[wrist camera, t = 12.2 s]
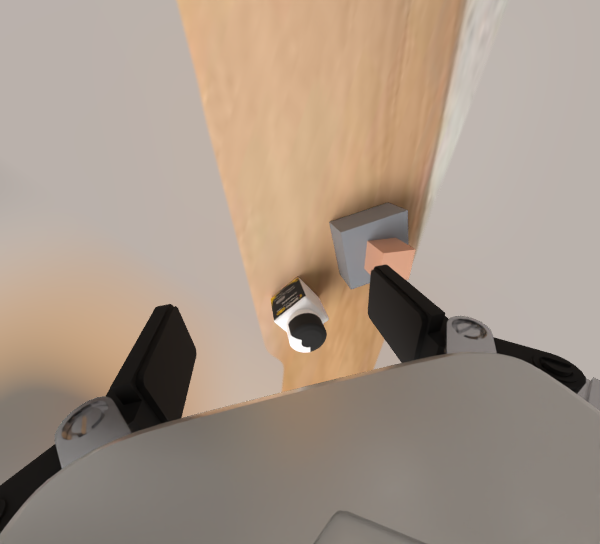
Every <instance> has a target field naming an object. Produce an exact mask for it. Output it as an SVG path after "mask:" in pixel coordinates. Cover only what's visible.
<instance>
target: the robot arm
mask: <svg viewBox="0 0 600 544" xmlns="http://www.w3.org/2000/svg"><path fill="white" fill-rule="evenodd" d="M368 315H369V318H370V319H371V321H372V322H373V324H374V325H375V326H376V328H377V329H378V330H379V332H380V333H381V335H382V336H383V337H384V339H385V340H386V341H387V343H388V344H389V345H390V347H391V348H392V350H393V351H394V353H395V354H396V355H397V357H398V358H399V359H400V361H401V362H402V363H400V364H396V365H391V366H387V367H383V368H379V369H375V370H371V371H367V372H362V373H358V374H354V375H350V376H346V377H342V378H338V379H334V380H330V381H326V382H322V383H318V384H313V385H309V386H305V387H301V388H297V389H293V390H289V391H285V392H281V393H278V394H273V395H269V396H266V397H261V398H257V399H254V400H250V401H246V402H242V403H238V404H234V405H230V406H226V407H222V408H218V409H214V410H210V411H206V412H203V413H200V414H195V415H191V416H188V417H184V418H181V417H182V413H183V409H184V405H185V401H186V396H187V392H188V388H189V384H190V380H191V376H192V371H193V367H194V363H195V359H196V348H195V346H194V343H193V341H192V339H191V337H190V335H189V332H188V330H187V328H186V325H185V323H184V321H183V319H182V316H181V314H180V312H179V310H178V308H177V307H176V306H175V307H173V305H171V304H168V305H163V306H158V307H156V308H155V309H154V311H153V313H152V315H151V317H150V318H149V320H148V322H147V323H146V325H145V327H144V329H143V331H142V332H141V334H140V336H139V338H138V339H137V341H136V343H135V345H134V346H133V348H132V350H131V352H130V353H129V355H128V357H127V359H126V361H125V362H124V364H123V366H122V368H121V369H120V371H119V373H118V375H117V376H116V378H115V380H114V382H113V384H112V385H111V387H110V390H109V392H108V393H107V395H106V397H97V398H95V399H92V400H89V401H87V402H85V403H84V404H82V405H80V406H79V407H78V408H76V409H75V410H74V411H72V412H71V413H70V414H69V415H68V416H67V417H66V418H65V419H64V420H63V421H62V423H61V424H60V426H59V427H58V429H57V431H56V434H55V445H53V446H52V447H51V448H49V449H48V450H47V451H45V452H44V453H43V454H41V455H40V456H39V457H37V458H36V459H35V460H33V461H32V462H31V463H30V464H28V465H27V466H25V467H24V468H23V469H22V470H20V471H19V472H18V473H16V474H15V475H14V476H12V477H11V478H10V479H8V480H7V481H6V482H4V483H3V484H2V485H0V544H600V380H598V379H596V378H593V379H592V380H591V381H590V380H588V379H586V377H585V376H584V374H583V373H582V371H580V370H579V369H578V368H577V367H576V366H575V365H573V364H572V363H570V362H569V361H567V360H565V359H563V358H561V357H559V356H556V355H553V354H551V353H547V352H544V351H540V350H537V349H533V348H530V347H526V346H522V345H519V344H515V343H512V342H508V341H505V340H501V339H497V338H494V337H493V335H492V332H491V330H490V329H489V328H488V327H487V326H486V325H485V324H483V323H482V322H480V321H478V320H476V319H473V318H469V317H465V316H455V317H452V318H450V319H448V318H447V317H446V316H445V312H443V311H442V310H441V309H440V308H439V307H437V306H436V305H435V304H434V303H432V302H431V301H430V300H429V299H428V298H427V297H425V296H424V295H423V294H422V293H420V292H419V291H418V290H417V289H416V288H415V287H413V286H412V285H411V284H410V283H409V282H407V281H406V280H405V279H404V278H403V277H401V276H400V275H399V274H398V273H397V272H395V271H394V270H393V269H392V268H391V267H389V266H388V265H387V264H385V265H380V266H375V267H374V270H371V275H370V289H369V303H368Z"/></svg>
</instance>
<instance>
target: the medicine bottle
mask: <svg viewBox="0 0 600 544" xmlns="http://www.w3.org/2000/svg"><path fill="white" fill-rule="evenodd" d="M271 304H272V311H273V317H274V322H275V323H276V324H277V325H279V326H280V327H281V328H282V329H284V330H285V331H286V332H287V334H288V338H289V343H290V345H291V347H292V348H293V349H294V350H296V351H299V352H311V351H314V350H316V349H318V348H319V347H320V346H321V345H322V344H323V343H324V341H325V339H326V335H327V334H326V330H325V328H324V325H323V324H324V323H325V322H326V321H328V320H329V318H328V315H327V313H326V311H325V309H324V307H323V305H322V303H321V301H320V299H319V297H318V296H317V295H316V294H315V293H314V292H313V291H312V290H311V289H310V288H309V287H308V286H307V285H306V284H305V283H304V282H303V281H302V280H301V279H300V278H299V277H297V278H295V279H294V280H293V281H292V282H291V283H289V284H288V285H287V286H286V287H284V288H283V289H282V290H281V291H279V292H278V293H277V294H276V295H275V296H273V297H272V298H271Z"/></svg>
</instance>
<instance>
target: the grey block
mask: <svg viewBox="0 0 600 544" xmlns="http://www.w3.org/2000/svg"><path fill="white" fill-rule="evenodd" d="M329 224H330V228H331V233H332V238H333V243H334V248H335V253H336V258H337V263H338V268H339V272H340V275H341V276H342V278H343V279H344V280H345V282H346V283H347V284H348V286H349V287H350V289H354V288H357V287H360V286H362V285H365V284H368V283H370V274H369V273H368V272H367V271H366V270H365V269H364V266H365V257H366V248H367V241H371V240H380V239H388V238H397V239H399V240H401V241H402V242H404V243H406V244H407V245H408V210H406V209H403V208H401V207H398V206H396V205H393V204H391V203H385V204H382V205H379V206H376V207H373V208H370V209H367V210H364V211H361V212H358V213H355V214H352V215H349V216H346V217H343V218H340V219H337V220H334V221H331V222H329Z"/></svg>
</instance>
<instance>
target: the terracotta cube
mask: <svg viewBox="0 0 600 544" xmlns="http://www.w3.org/2000/svg"><path fill="white" fill-rule="evenodd" d="M415 250H416V249H414V248H412V247H411V246H409V245H407V244H406V243H404V242H402V241H401V240H399V239H397V238H388V239H380V240H371V241H367V248H366V257H365V266H364V269H365V270H366V271H367V272H368V273H369V274H370V275H371V270H374V267H375V266H380V265H385V264H387V265H388V266H389V267H391V268H392V269H393V270H394V271H395V272H397V273H398V274H399V275H400V276H401V277H403V278H404V279H405V280H408V279H409V276H410V272H411V267H412V263H413V258H414V254H415Z"/></svg>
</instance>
